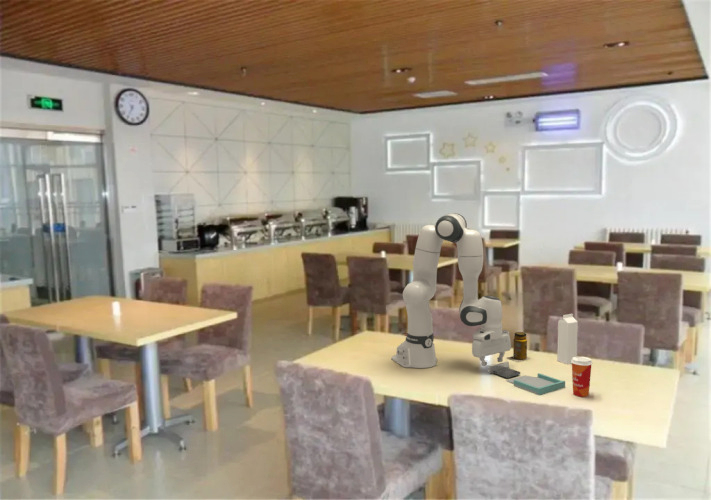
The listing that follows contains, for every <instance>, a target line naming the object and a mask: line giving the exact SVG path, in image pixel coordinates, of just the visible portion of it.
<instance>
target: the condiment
mask: <svg viewBox="0 0 711 500" xmlns="http://www.w3.org/2000/svg"><path fill="white" fill-rule="evenodd" d="M512 349H513V351H512V353H513V355H512V356H508V357H506V359H508V360H511V361H515V362H517V363H518V362H523V361H528V360H531V358H530V357H528V355H527V354H528V339H527V333H525V332H521V331H518V332H517V331H516V332H515V333H514V338H513V348H512Z"/></svg>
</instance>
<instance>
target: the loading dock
mask: <svg viewBox="0 0 711 500" xmlns="http://www.w3.org/2000/svg"><path fill="white" fill-rule="evenodd" d="M505 382H507V383H509V384H512V385H513V386H514V387H515V388H516V387H517V388H518V389H519V388H520V389H521V390H525V391H527V392H529V393H530V392H531V393H532V394H535V395H538V396H542V395H545V394H547V393H551V392H555V391H559V390H561V389H565V388H566V381H565V380H561V379H558V378H554V377H553V376H549V375H545V374H543V373H537V376H530V375H522V376H517V377H514V378H510V379H506V380H505Z"/></svg>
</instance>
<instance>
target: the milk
mask: <svg viewBox="0 0 711 500" xmlns="http://www.w3.org/2000/svg"><path fill="white" fill-rule="evenodd" d="M578 323H579V321H578V320H577V319H575V317H574V314H573V313H569V314H563V316H562V318H560V319H558V320H557V354H556V355H557V360H556V361H557V362H559V363H563V364H566V365H570V364H571V365H572V362H571V360H572V358H573V357H578V333H579V332H578V327H579V326H578V325H579V324H578Z"/></svg>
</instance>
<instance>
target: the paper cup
mask: <svg viewBox="0 0 711 500" xmlns="http://www.w3.org/2000/svg"><path fill="white" fill-rule="evenodd" d="M571 362H572V363H571V372H572V375H571V377H572V378H571V379H572V381H571V382H572V393H573V395H574V396H576V397H580V398H586V397H589V394H590V386H591V375H592V374H591V373H592V364H593V361H592V358H590V357H587V356H577V357H573V358H572V360H571Z"/></svg>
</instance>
